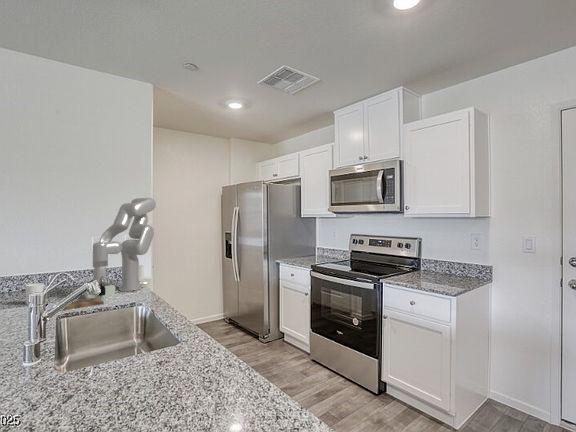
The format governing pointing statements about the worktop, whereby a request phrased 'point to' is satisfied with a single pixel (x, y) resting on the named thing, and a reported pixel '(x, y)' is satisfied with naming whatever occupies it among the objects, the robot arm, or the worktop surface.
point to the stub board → (84, 302)
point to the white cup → (33, 289)
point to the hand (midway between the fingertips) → (100, 293)
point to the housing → (108, 292)
